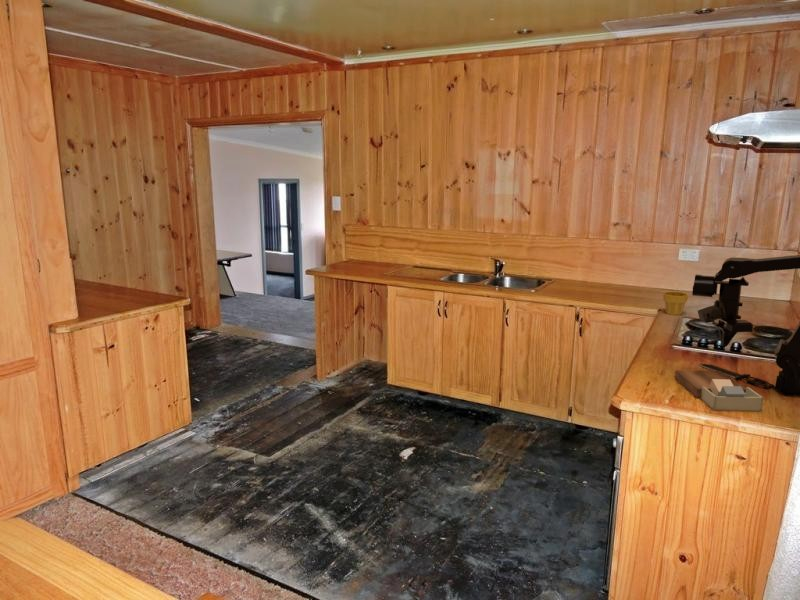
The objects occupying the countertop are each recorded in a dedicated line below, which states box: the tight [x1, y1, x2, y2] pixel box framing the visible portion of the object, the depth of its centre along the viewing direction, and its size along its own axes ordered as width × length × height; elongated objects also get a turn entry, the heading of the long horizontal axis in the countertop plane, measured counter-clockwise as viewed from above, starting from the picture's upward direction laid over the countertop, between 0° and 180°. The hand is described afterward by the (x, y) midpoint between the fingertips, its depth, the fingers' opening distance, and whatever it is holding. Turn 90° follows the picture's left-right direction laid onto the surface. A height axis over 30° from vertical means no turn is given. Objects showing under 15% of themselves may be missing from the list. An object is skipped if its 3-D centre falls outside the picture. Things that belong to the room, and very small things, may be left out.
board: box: [674, 369, 746, 399], centre depth 171 cm, size 14×16×3 cm
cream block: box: [709, 379, 733, 396], centre depth 161 cm, size 5×5×3 cm
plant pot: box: [662, 291, 689, 316], centre depth 262 cm, size 10×10×10 cm
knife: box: [699, 362, 776, 390], centre depth 182 cm, size 25×6×1 cm, turn 18°
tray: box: [700, 386, 764, 412], centre depth 159 cm, size 13×8×4 cm, turn 85°
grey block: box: [719, 385, 745, 397], centre depth 157 cm, size 5×5×3 cm
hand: (724, 346), depth 175 cm, fingers closed
